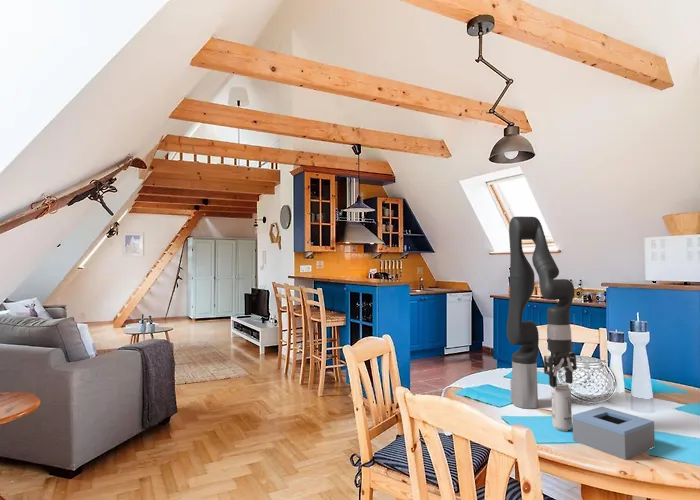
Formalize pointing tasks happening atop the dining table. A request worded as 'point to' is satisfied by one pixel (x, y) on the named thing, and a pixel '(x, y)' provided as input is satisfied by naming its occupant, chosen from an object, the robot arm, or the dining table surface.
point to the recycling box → (613, 432)
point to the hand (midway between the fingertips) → (561, 384)
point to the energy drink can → (561, 407)
